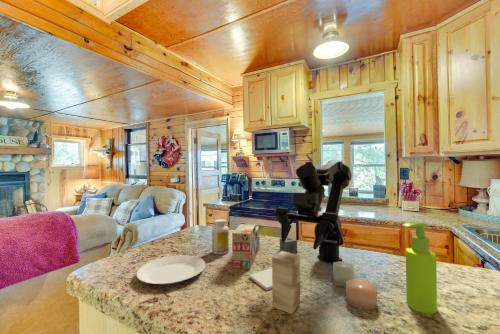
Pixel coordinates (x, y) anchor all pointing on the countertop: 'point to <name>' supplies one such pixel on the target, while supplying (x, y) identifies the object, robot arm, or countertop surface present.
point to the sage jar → (342, 273)
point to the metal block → (286, 281)
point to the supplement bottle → (220, 237)
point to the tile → (263, 278)
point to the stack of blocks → (245, 245)
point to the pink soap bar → (361, 294)
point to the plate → (171, 269)
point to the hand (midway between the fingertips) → (297, 245)
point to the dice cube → (289, 245)
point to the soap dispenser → (421, 272)
